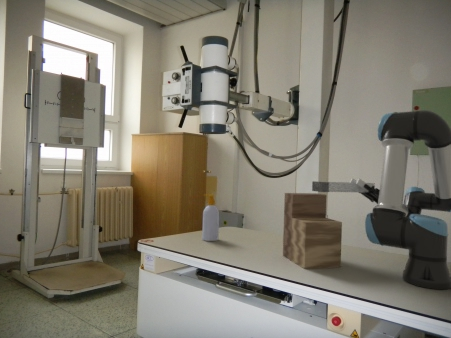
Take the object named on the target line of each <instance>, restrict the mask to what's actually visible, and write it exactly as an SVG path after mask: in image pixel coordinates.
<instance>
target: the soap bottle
mask: <svg viewBox="0 0 451 338" xmlns="http://www.w3.org/2000/svg"><path fill="white" fill-rule="evenodd" d="M202 196H206V197H209V198H208V200H207V206H205V208H204V209H203V211H202V230H201V231H202V234H201V235H202V236H201V239H202V241H206V242H216V241H218V240H219V233H220V231H219V230H220V225H219V223H220V210H219V209H218V208H217V206H215V201H216V200H215V198H214V197H215V196H214V194H205V193H204V194H202Z"/></svg>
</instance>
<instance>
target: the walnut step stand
mask: <svg viewBox="0 0 451 338" xmlns="http://www.w3.org/2000/svg"><path fill="white" fill-rule="evenodd" d="M283 204H284V207H283V240H282V243H283V244H282V257H284V258H285V259H288V260H289V261H291V262H292V263H294V264H296V265H298V266H299V267H300V268H302V269H304V270H309V269H312V270H313V269H326V268H327V269H328V268H329V267H332V268H341V267H342V266H341V264H342V233H343V222H342V221H339V220H335V219H332V218H327V194H323V193H319V192H317V193H316V192H313V193H312V192H284V203H283ZM329 269H330V268H329Z"/></svg>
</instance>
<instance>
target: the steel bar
mask: <svg viewBox="0 0 451 338" xmlns="http://www.w3.org/2000/svg"><path fill="white" fill-rule="evenodd" d="M311 183H312V186H311V190H312V192H317V193H359V192H365V193H369V191H368V192H366V191H365V190H364V189H362V188H361V187H359V186H358V185H356V183H353V182H350V181H348V182H347V181H346V182H345V181H343V182H342V181H314V180H313V181H311ZM366 183H367V184H368V185H370V186H371V187H372V185H373V186H375V187H374V188H376V184H375V183H374V182H366Z"/></svg>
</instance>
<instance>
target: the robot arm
mask: <svg viewBox="0 0 451 338" xmlns="http://www.w3.org/2000/svg"><path fill="white" fill-rule="evenodd" d="M377 139H378V140H379V141H380V142H381V145H382V146H383V147H384V154H383V162H382V167H381V169H382V170H381V177H380V184H379V188H377V187H376V185H375V186H373V185H372V187H371V186H370V185H368V184H367V183H368V182H365V181H364V180H362V179H361V178H357V180H356V179H355V178H353V177H352V178H351V179H350V181H349V182H353V183H356V185H358V186H359V187H361V188H362V189H364V190H365V191H366V192H368V191H369V193H365V192H358V193H359V194H361V195H362V196H363V197H364V198H366V199H367V200H369V201H370V202H371V203H376V205H375V206H374V207H372V212H369V213H367V214H366V217H365V220H364V223H365V224H364V225H365V226H364V227H365V234H366V238H367V239H368V241H370V243H372V244H375V245H379V246H381V247H383V246H385V247H392V248H396V249H403V250H408V259H407V261H406V264H405V267H404V270H403V271H402V280H403V281H405V282H406V283H408V284H411V285H414V286H417V287H421V288H425V289H434V290H449V289H451V274H450V271H449V267H448V263H447V261H448V259H447V258H448V257H447V256H448V237H449V232H448V223H447V222H446V221H445V220H443V219H441V218H439V217H435V216H431V215H427V214H426V215H425V214H422V210H423V211H424V210H426V211H438V212H447V213H451V127H450V125H449V123H448V122H447V121H446V119H444V118H443V117H442V116H441V115H439V114H438V113H436V112H435V111H431V110H425V109H421V110H414V111H413V110H411V111H398V112H397V111H393V112H391V113H390V112H389V113H385V114H384V115H382V116H381V118H380V119H379V123H378V126H377ZM415 141H423V142H424V146H425V147H426V148H427V149H428V157H429V163H430V170H431V171H430V172H431V175H432V184H433V193H432V192H426V191H425V190H424V188H422V187H417V186H410V187H408V188H407V190H406V192H405V184H406V177H407V167H408V161H409V159H408V158H409V150H410V149H411V148H413V147H414V143H415ZM374 187H375V188H374ZM404 193H405V195H404Z"/></svg>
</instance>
